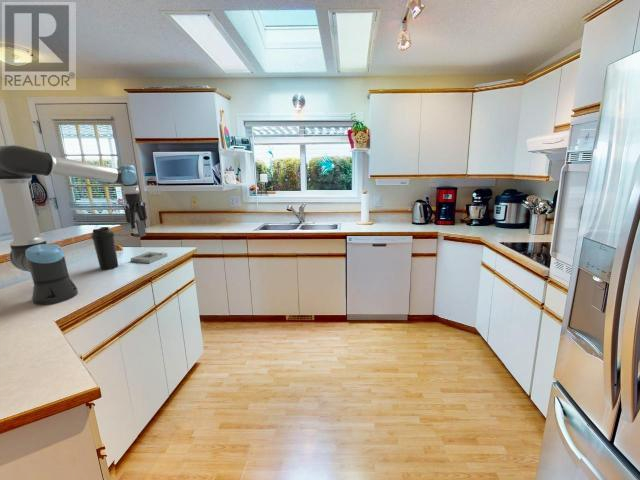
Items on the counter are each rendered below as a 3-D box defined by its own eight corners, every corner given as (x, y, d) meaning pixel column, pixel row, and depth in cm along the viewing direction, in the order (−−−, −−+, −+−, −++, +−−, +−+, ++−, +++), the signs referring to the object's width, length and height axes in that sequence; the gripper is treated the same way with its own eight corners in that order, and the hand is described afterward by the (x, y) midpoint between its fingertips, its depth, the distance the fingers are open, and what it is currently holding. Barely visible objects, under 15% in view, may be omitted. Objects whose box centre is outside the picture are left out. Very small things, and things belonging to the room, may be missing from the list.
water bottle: (124, 264, 174) (116, 226, 168) (110, 270, 164) (102, 230, 158) (108, 264, 175) (100, 226, 169) (93, 270, 165) (85, 230, 159)
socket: (149, 263, 176) (149, 259, 175) (130, 261, 179) (130, 257, 179) (167, 256, 189) (166, 252, 188) (149, 254, 192) (148, 250, 192)
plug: (140, 237, 174) (136, 220, 171) (133, 236, 175) (130, 219, 173) (146, 235, 178) (143, 218, 176) (140, 234, 179) (137, 218, 177)
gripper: (123, 195, 161) (132, 236, 167) (149, 191, 177) (156, 229, 183) (112, 194, 163) (121, 236, 169) (139, 191, 179) (146, 228, 185)
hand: (139, 232), depth 176 cm, fingers closed on plug, 4 cm apart
